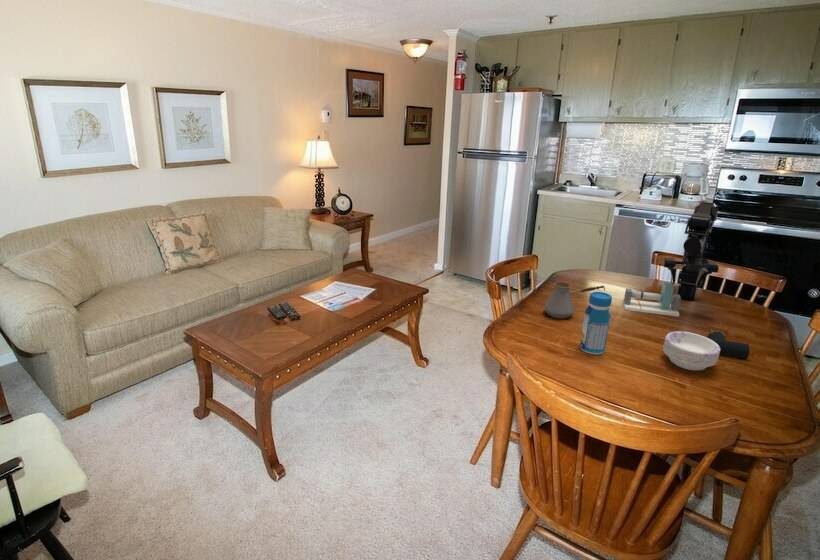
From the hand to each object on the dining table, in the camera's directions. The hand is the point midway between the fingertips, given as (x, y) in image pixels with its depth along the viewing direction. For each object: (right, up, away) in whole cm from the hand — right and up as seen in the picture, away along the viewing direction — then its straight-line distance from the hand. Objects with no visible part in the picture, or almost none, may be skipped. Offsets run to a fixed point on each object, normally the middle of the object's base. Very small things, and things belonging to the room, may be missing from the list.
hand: (684, 285), depth 182 cm
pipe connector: (-4, -22, -25) cm, 34 cm away
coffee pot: (-46, -13, -2) cm, 48 cm away
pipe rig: (-10, -10, +7) cm, 16 cm away
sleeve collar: (-6, -8, +5) cm, 11 cm away
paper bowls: (-21, -25, -35) cm, 48 cm away
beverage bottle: (-48, -22, -27) cm, 60 cm away
